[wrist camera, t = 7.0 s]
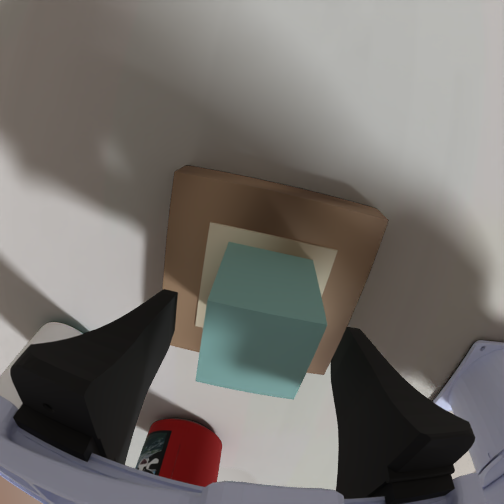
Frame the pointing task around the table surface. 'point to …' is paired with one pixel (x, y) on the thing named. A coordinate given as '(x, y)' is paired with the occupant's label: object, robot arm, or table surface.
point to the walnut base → (265, 244)
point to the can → (45, 334)
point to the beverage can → (181, 452)
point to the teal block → (261, 322)
